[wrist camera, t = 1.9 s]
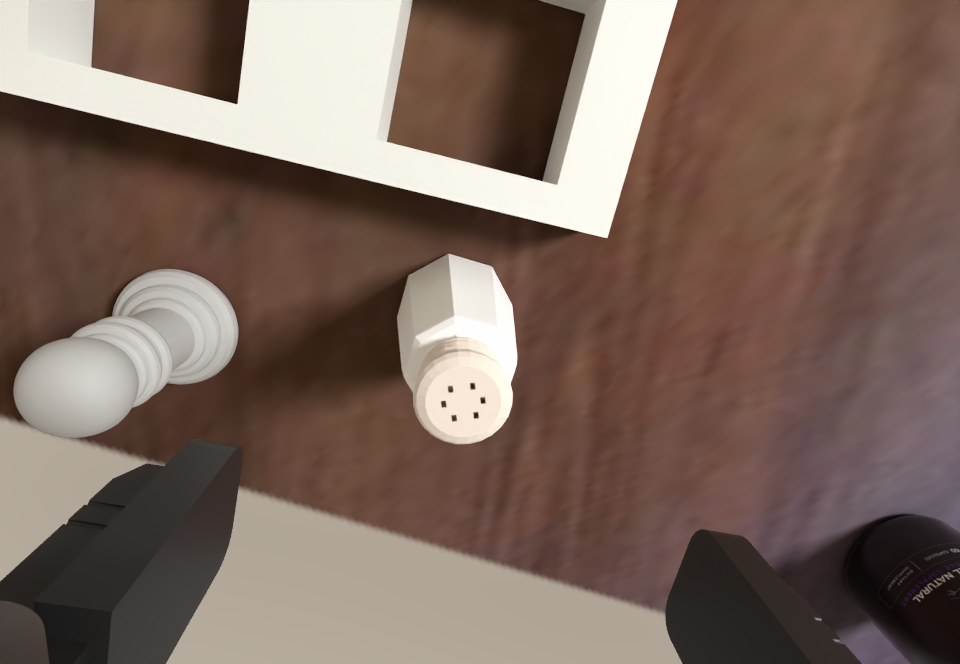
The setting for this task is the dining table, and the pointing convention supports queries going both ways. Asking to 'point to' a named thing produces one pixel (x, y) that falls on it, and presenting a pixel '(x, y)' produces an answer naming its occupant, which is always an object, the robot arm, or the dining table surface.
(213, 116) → the rail
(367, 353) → the dining table surface
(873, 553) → the supplement bottle
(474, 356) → the salt shaker
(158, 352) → the chess piece
